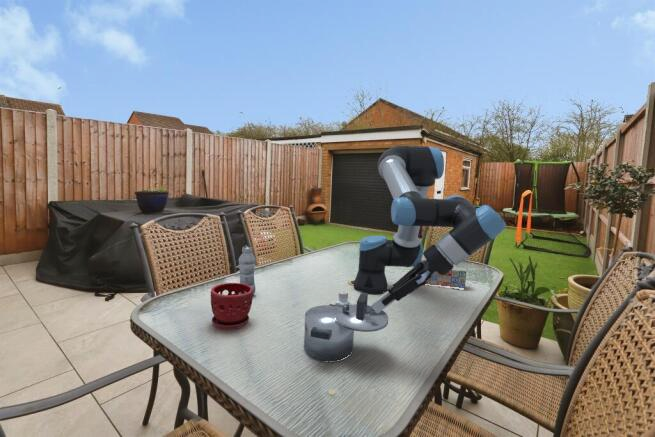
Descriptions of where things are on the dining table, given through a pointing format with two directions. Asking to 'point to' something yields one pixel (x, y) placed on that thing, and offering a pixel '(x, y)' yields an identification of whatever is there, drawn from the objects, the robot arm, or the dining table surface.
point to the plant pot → (231, 305)
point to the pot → (326, 335)
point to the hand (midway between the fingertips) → (374, 308)
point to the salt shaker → (342, 298)
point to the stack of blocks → (448, 277)
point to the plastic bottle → (247, 267)
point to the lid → (361, 316)
